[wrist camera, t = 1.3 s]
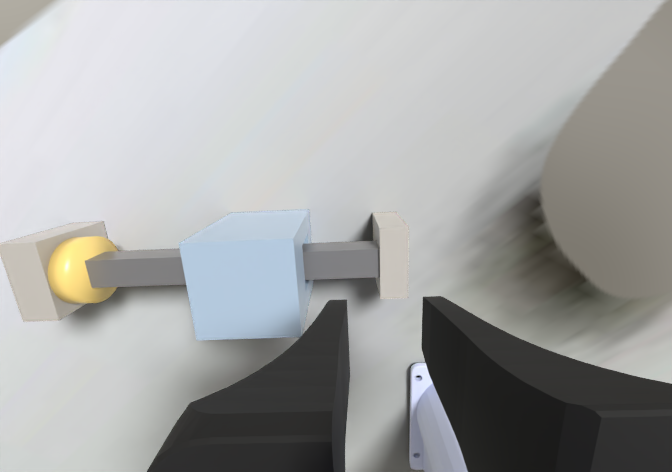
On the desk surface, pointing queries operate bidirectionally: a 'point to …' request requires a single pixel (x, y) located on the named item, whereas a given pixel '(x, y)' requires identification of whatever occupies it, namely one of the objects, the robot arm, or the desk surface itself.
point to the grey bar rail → (172, 265)
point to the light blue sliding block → (249, 275)
